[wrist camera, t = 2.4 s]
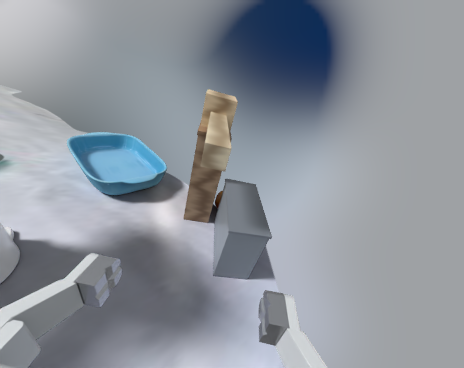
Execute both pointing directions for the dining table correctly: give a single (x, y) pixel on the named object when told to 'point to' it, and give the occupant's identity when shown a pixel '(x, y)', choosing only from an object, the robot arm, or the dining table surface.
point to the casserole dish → (116, 162)
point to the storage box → (239, 230)
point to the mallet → (217, 129)
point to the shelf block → (201, 184)
